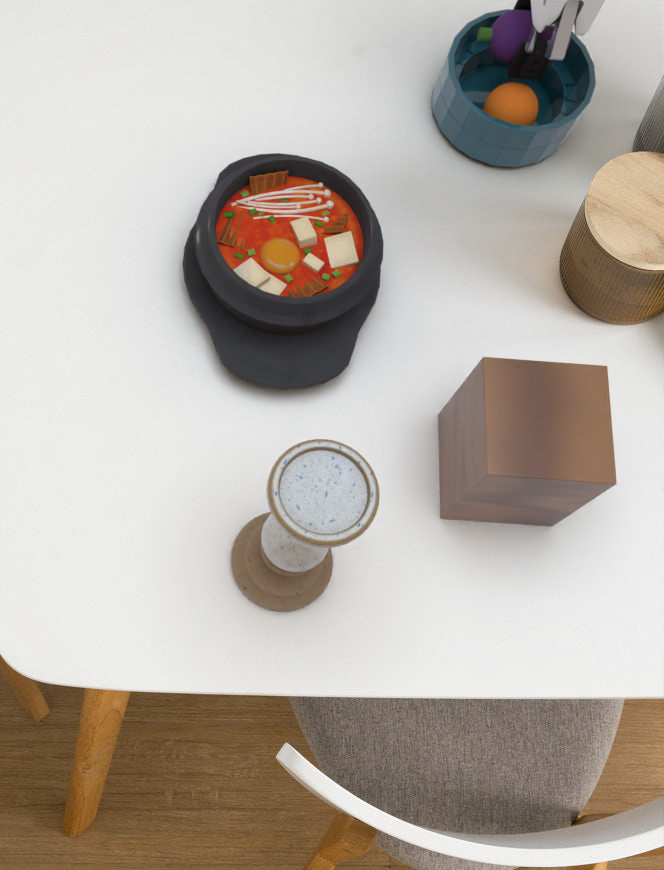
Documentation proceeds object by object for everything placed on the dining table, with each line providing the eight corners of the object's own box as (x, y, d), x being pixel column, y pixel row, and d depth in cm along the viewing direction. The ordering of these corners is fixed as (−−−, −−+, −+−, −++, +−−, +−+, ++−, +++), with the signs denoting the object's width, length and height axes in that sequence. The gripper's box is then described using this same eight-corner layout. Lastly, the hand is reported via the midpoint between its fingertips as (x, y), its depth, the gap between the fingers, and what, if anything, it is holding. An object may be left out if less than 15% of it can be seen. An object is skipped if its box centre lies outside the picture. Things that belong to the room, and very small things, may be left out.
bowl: (564, 59, 101) (590, 15, 95) (572, 175, 97) (600, 136, 91) (429, 49, 101) (447, 4, 95) (431, 164, 96) (450, 124, 91)
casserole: (182, 163, 96) (186, 104, 88) (368, 168, 96) (390, 110, 88) (181, 395, 88) (185, 354, 80) (383, 399, 89) (408, 359, 81)
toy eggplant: (557, 39, 95) (578, 2, 90) (560, 77, 93) (581, 41, 89) (470, 33, 95) (486, -5, 90) (472, 71, 93) (488, 35, 89)
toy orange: (532, 100, 97) (547, 73, 92) (527, 150, 97) (542, 125, 92) (479, 97, 98) (491, 69, 93) (474, 146, 98) (486, 121, 92)
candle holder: (234, 614, 82) (264, 556, 63) (226, 516, 85) (254, 431, 66) (336, 609, 83) (397, 550, 63) (325, 511, 85) (381, 426, 66)
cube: (546, 421, 89) (607, 365, 77) (552, 526, 86) (617, 484, 74) (437, 414, 88) (483, 356, 77) (440, 518, 85) (487, 474, 74)
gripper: (665, -30, 74) (565, 129, 91) (646, -192, 79) (555, -12, 96) (567, -37, 74) (486, 124, 91) (555, -199, 79) (480, -18, 96)
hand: (522, 52), depth 94 cm, fingers closed on toy eggplant, 4 cm apart
